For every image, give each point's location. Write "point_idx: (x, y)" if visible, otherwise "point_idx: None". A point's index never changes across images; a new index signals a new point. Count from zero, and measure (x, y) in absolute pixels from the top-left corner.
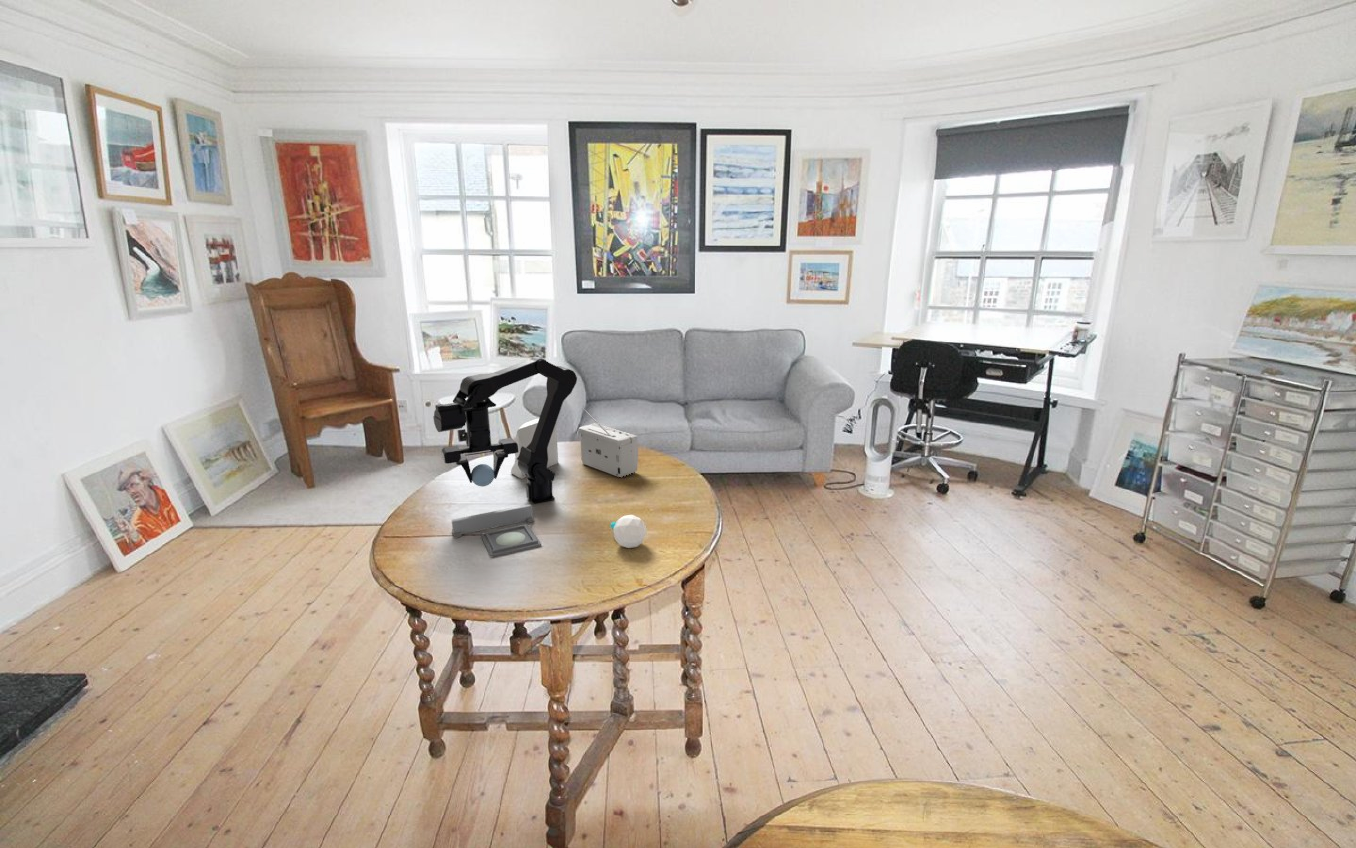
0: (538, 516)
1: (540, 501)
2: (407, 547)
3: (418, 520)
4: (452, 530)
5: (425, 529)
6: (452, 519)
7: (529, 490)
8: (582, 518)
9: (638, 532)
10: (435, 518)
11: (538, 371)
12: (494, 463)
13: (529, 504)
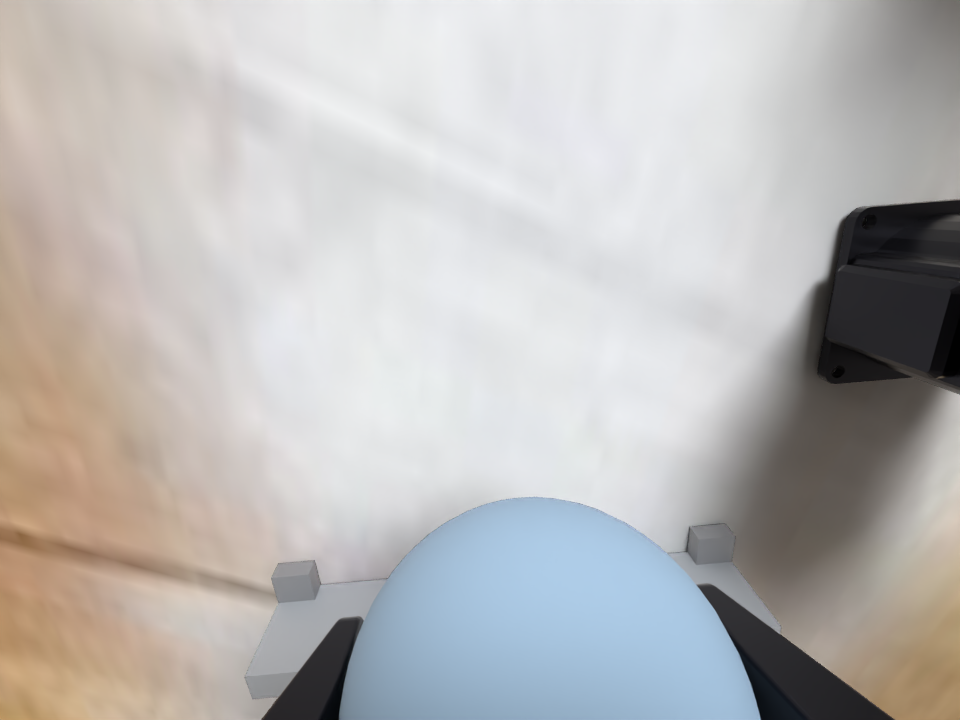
0: (764, 544)
1: (876, 378)
2: (61, 642)
3: (19, 337)
4: (276, 593)
5: (109, 486)
6: (250, 678)
7: (903, 366)
8: (939, 631)
9: None
10: (143, 350)
11: None
12: None
13: (775, 630)
